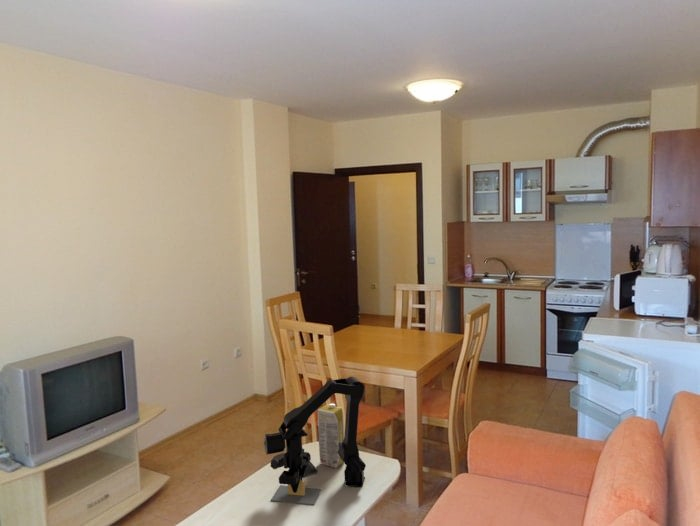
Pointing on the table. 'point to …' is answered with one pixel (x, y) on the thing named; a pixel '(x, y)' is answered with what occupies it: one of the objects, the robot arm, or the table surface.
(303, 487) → the ochre block
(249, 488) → the table surface
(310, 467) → the phone
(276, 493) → the charcoal mat
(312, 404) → the robot arm
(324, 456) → the juice carton
